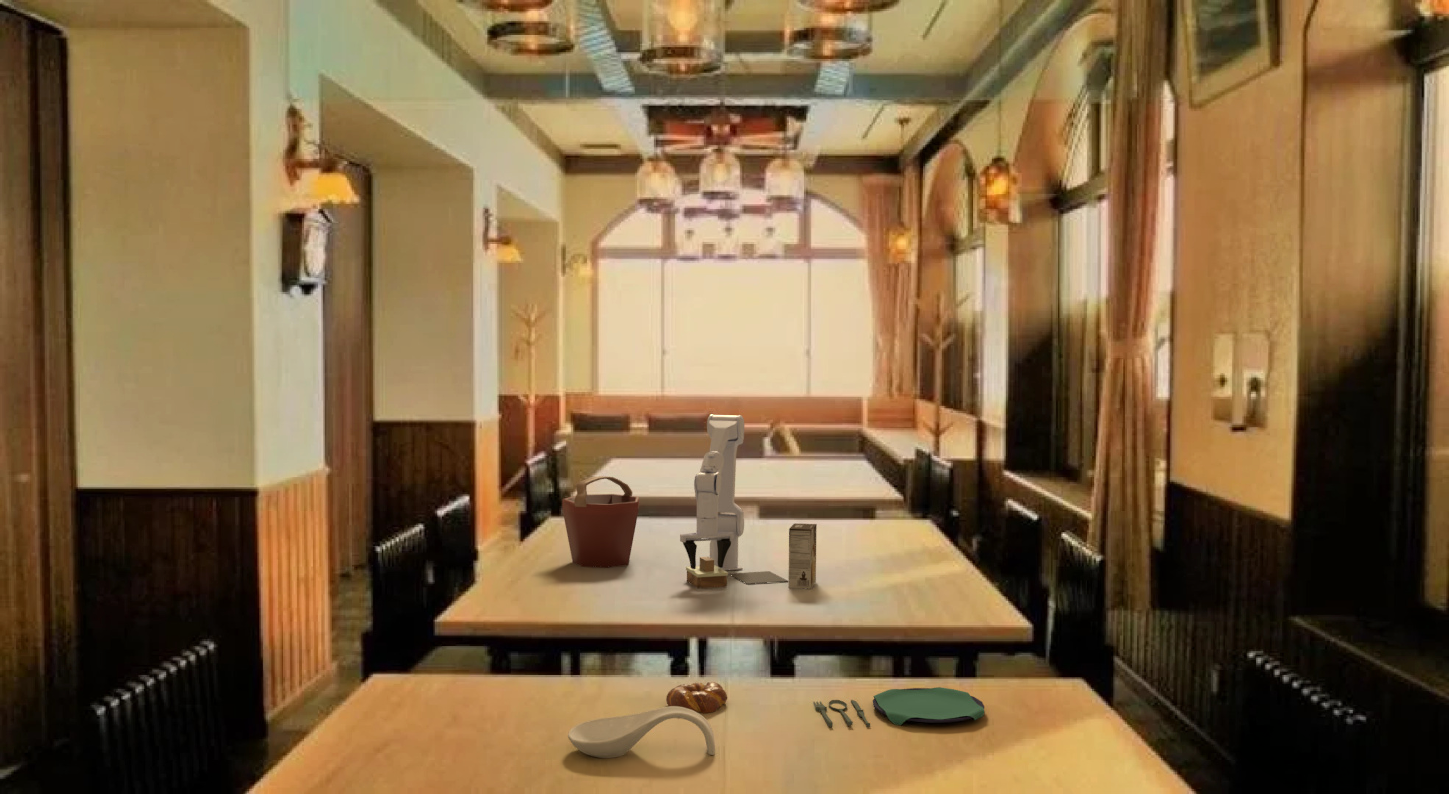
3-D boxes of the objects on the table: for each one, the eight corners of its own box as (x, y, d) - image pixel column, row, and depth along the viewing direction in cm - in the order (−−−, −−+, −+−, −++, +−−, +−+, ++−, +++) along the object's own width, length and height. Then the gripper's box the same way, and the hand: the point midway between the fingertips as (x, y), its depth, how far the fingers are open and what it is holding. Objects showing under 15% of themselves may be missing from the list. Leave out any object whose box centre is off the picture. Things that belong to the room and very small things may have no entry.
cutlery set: (999, 729, 210) (999, 716, 210) (827, 735, 208) (827, 722, 208) (966, 696, 230) (966, 684, 230) (808, 701, 228) (808, 689, 227)
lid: (685, 569, 331) (686, 556, 331) (715, 568, 334) (715, 554, 334) (697, 577, 321) (698, 563, 321) (727, 575, 324) (728, 561, 324)
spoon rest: (564, 765, 191) (565, 720, 190) (571, 740, 203) (571, 698, 202) (716, 765, 192) (716, 720, 191) (713, 740, 204) (714, 697, 203)
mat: (729, 574, 340) (729, 573, 340) (769, 572, 344) (769, 571, 344) (746, 584, 327) (746, 583, 327) (788, 582, 331) (788, 581, 331)
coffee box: (792, 581, 332) (793, 522, 331) (816, 582, 331) (817, 523, 330) (787, 588, 323) (788, 528, 322) (811, 589, 322) (812, 529, 321)
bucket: (587, 573, 341) (587, 483, 339) (544, 561, 357) (544, 476, 356) (656, 562, 357) (657, 477, 355) (612, 552, 373) (612, 470, 372)
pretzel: (696, 692, 230) (696, 673, 230) (741, 704, 223) (741, 684, 223) (652, 707, 221) (653, 687, 221) (698, 720, 214) (698, 699, 214)
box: (686, 581, 331) (686, 570, 331) (714, 579, 334) (714, 568, 334) (698, 588, 322) (698, 577, 322) (726, 586, 324) (726, 575, 324)
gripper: (685, 520, 321) (685, 571, 321) (737, 518, 325) (737, 569, 326) (677, 516, 327) (677, 567, 328) (729, 514, 332) (728, 564, 333)
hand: (706, 567), depth 327 cm, fingers open, 7 cm apart
